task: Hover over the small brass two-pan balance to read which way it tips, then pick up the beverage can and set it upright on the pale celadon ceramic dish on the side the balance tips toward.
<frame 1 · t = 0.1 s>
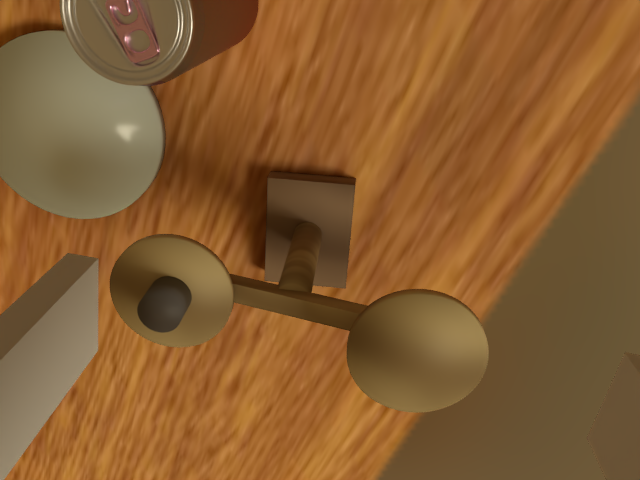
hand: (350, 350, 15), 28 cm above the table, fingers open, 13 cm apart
balance: (310, 226, 44), on the table
dish: (74, 126, 42), on the table
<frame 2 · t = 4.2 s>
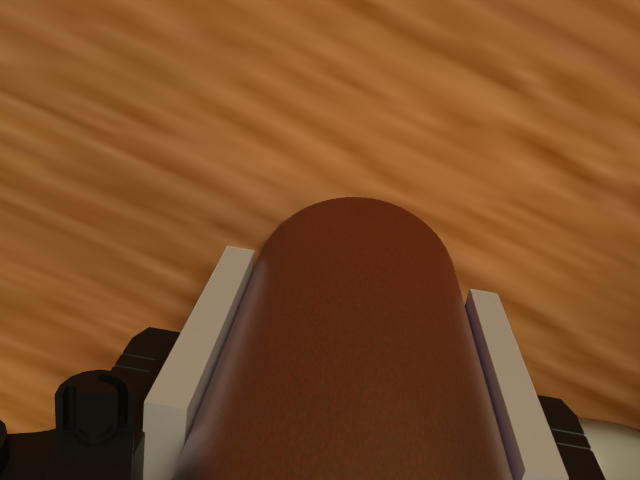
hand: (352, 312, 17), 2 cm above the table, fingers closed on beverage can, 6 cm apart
beverage can: (354, 277, 19), on the table, touching gripper
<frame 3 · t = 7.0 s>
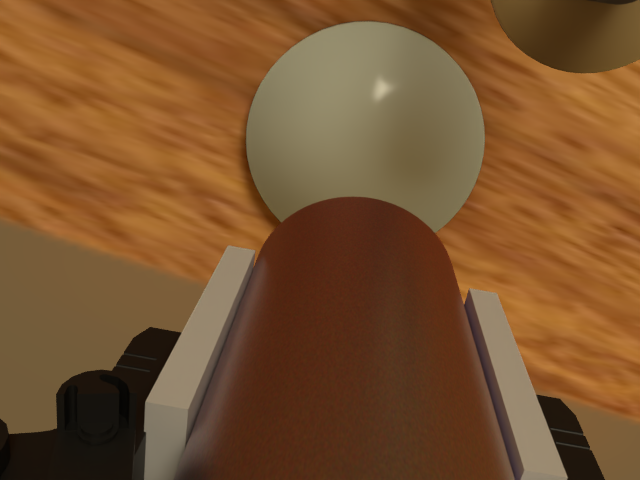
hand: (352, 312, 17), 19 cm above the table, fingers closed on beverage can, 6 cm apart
beverage can: (353, 276, 19), point 17 cm above the table, touching gripper
dish: (363, 142, 34), on the table
when the fingers open (5 cm above the table, at t = 10.0 s): beverage can drops 2 cm, resting on dish.
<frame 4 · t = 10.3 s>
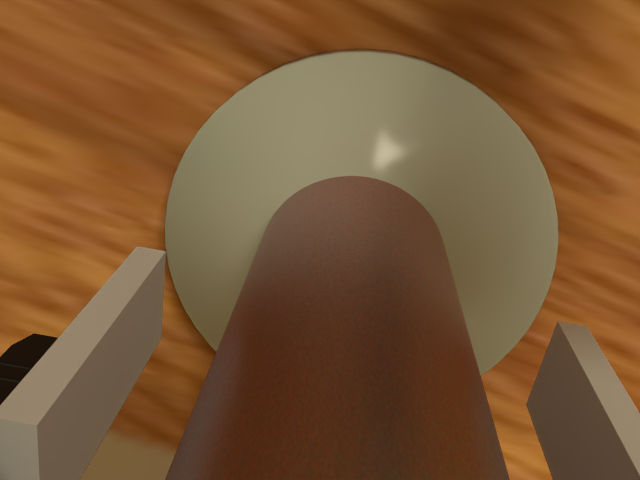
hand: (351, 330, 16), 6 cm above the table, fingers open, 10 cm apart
beverage can: (352, 252, 20), point 1 cm above the table, touching dish
dish: (357, 241, 21), on the table
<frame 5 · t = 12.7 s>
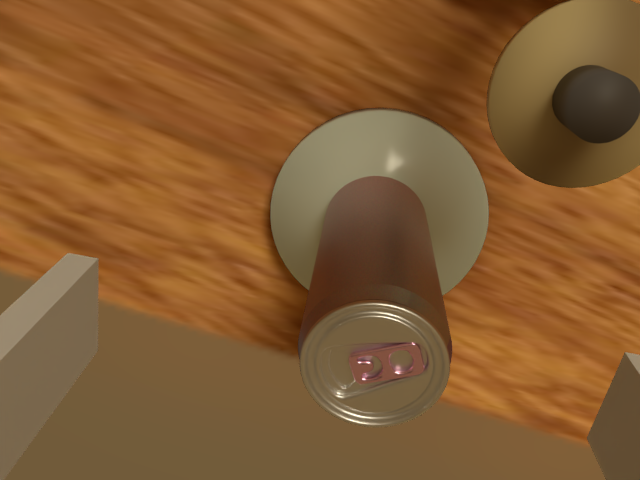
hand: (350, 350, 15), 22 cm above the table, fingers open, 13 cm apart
beverage can: (375, 218, 36), point 1 cm above the table, touching dish
dish: (377, 213, 37), on the table
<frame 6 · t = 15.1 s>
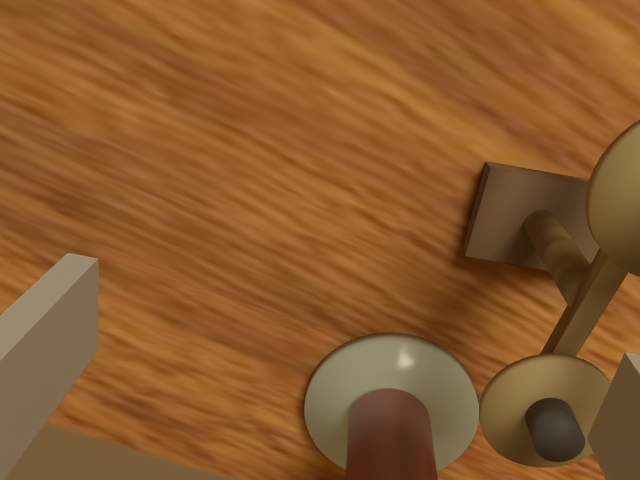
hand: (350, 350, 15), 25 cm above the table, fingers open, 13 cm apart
beverage can: (388, 413, 45), point 1 cm above the table, touching dish
balance: (534, 216, 39), on the table
dish: (390, 405, 46), on the table
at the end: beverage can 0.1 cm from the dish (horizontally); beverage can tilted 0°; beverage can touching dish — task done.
